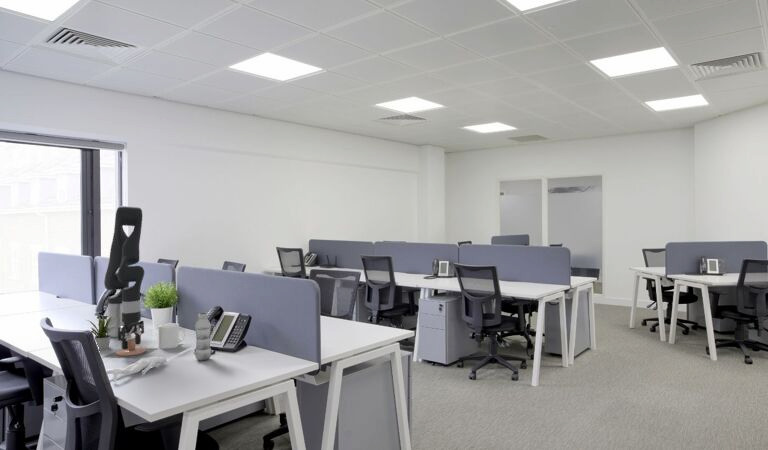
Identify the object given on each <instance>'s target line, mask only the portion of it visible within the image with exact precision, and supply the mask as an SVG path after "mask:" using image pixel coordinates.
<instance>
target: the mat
mask: <svg viewBox="0 0 768 450" xmlns="http://www.w3.org/2000/svg"><path fill="white" fill-rule="evenodd" d="M157 350H159V347H158V348H155V347H153V348H152V347H150V348H149V347H146V352H145V353H143V354H140V355H135V356H117V355H116V351H115V352H112V353H111V352H110V353H109V354H106V355H104V356H103V358H110V359H111V358H115V359H117V358H118V359H132V360H133V359H139V358H141V357H142V356H146V355H147V354H150V353H152V352H154V351H157Z"/></svg>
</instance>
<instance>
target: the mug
mask: <svg viewBox="0 0 768 450" xmlns="http://www.w3.org/2000/svg"><path fill="white" fill-rule="evenodd" d="M179 325H180V324H179V323H176V322H175V323H174V322H173V323H171V322H170V323H164V324H160V325H158V349H164V350H169V349H173V348H177V347H179V344H180V343H181V342H183V341H184V339H185V336H186V335H185V334H186V333H185V329H184V328H183V327H181V326H179ZM179 331H182V332H183V336H182V337H181V338H180V337H179V336H180V335H179V334H180V333H179ZM179 338H180V339H179Z"/></svg>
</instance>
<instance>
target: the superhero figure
mask: <svg viewBox="0 0 768 450" xmlns="http://www.w3.org/2000/svg"><path fill="white" fill-rule="evenodd" d="M167 359H168V358H166V357H165V356H162V357H160V356H150V357H142V358H141V357H140V359H139V360H138V361H136V362H134V363H132V364H129V365H127V366H126V367H124V368H117V367H115V368H112V369H109V370H108V369H107V370H106V371H107V375H110V374H112V375H113V377H112V380H113V381H114V382H117V378H118V375H128V376H131V375H133V374H137V373H140V374H141V375H142V376H144V375H146V373H147V372H148V371H149V370H150V369H152V368H154V367H157V366H158V365H159V366H160V365H165V364H166V363H167V361H168V360H167Z"/></svg>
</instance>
